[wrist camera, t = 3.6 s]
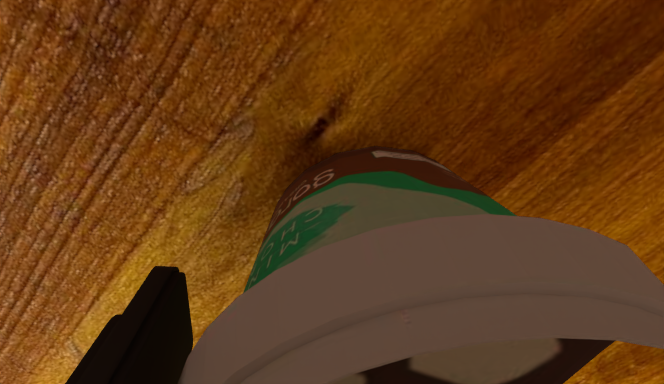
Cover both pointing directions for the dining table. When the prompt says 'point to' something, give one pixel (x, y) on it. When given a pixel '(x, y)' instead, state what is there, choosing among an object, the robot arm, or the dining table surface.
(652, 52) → the dining table surface
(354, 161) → the food container
